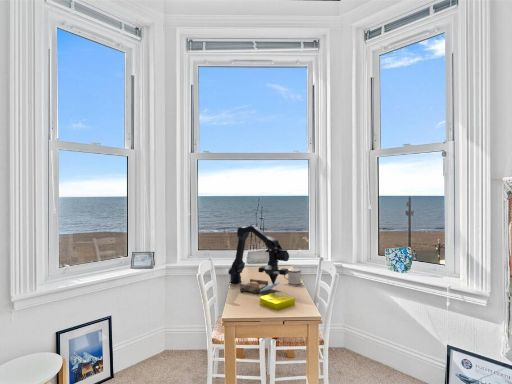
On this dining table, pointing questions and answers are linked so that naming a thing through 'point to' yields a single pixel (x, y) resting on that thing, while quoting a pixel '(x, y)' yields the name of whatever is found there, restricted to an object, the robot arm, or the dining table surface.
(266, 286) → the tailgate
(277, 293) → the element tile
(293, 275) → the teacup with lid
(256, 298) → the dining table surface
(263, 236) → the robot arm
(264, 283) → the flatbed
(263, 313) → the dining table surface
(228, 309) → the dining table surface
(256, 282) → the cube with rounded ends
